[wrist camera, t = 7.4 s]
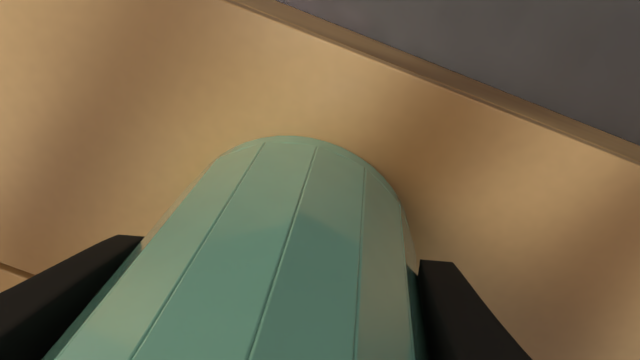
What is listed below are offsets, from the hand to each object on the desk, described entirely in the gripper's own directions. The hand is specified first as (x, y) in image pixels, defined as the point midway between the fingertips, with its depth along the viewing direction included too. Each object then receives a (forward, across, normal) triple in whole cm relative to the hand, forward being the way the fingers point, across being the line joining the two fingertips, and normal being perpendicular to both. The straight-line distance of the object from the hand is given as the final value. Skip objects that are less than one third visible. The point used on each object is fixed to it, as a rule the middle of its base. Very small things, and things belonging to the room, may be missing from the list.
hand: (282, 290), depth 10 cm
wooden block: (+4, -1, 0) cm, 4 cm away
